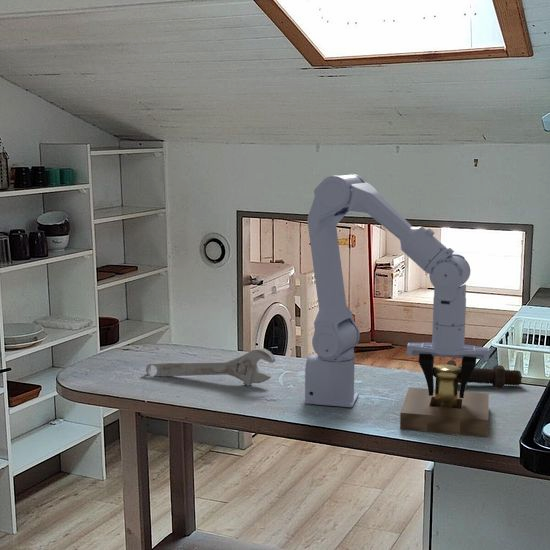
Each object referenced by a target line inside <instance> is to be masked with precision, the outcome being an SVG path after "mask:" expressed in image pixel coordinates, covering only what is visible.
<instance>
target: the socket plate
mask: <svg viewBox="0 0 550 550" xmlns="http://www.w3.org/2000/svg"><path fill="white" fill-rule="evenodd" d="M459 397H460V390H458V394H457V409H456V408H444V407H435V388H434V392H433V396H429V391H428V388H423V387H422V388H421V387H411V386H410V387H408V389H407V392H406V395H405V398H404V401H403V405H402V408H401V411H400V414H399V424H400V425H399V429H400V430H408V431H409V430H410V431H421V432H429V433H431V432H432V433H444V434H451V435H453V434H454V435H464V436H465V435H467V436H477V437H488V436H489V435H488V434H489V432H488V431H489V399H490V398H489V397H490V396H489V393H488V392H487V393H486V392H475V391H473V392H472V391H464V398H459Z"/></svg>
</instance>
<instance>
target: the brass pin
mask: <svg viewBox="0 0 550 550" xmlns="http://www.w3.org/2000/svg"><path fill="white" fill-rule="evenodd" d="M457 366H458V365H456V366H454V365H447V363H446V364H443V363H442V364H437V365H435V366H433V378H435V384H434V385H435V386H434V387H435V388H434V389H435V407H444V408H456V409H457V394H458V391H459V390H458V387H459V386H458V385H459V383H458V379H459V378H461V368H459V367H457Z"/></svg>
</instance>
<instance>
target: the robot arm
mask: <svg viewBox="0 0 550 550" xmlns="http://www.w3.org/2000/svg"><path fill="white" fill-rule="evenodd" d="M313 192H314V193H313V194H314V198H313V200H312V203H311V206H310V210H309V212H308V216H307V228H308V235H309V236H308V237H309V243H310V251H311V252H310V253H311V259H312V265H313V274H314V282H315V290H316V296H317V302H318V303H317V304H318V312H317V314H316V317H315V320H314V322H313V325H314V327H313V328H314V331H313V332H314V333H313V335H312V339H311V344H312V345H311V346H312V348H313V351H314V352H315V354H309V355H308V356H307V357H306V362H305V367H304V369H305V370H304V379H305V380H304V401H303V402H304V404H308V405H319V406H332V407H343V408H353V406H354V405H355V403H356V401H357V399H358V398H359V392H355V355H356V354H355V352H354V351H355V350H354V349H355V347H356V346H357V345H358V343H359V341H360V337H361V336H360V334H361V333H360V330H359V327H358V326H357V324H356V322H355V319H354V316H353V315H354V314H353V312H352V311H351V309H350V308H349V307H348V305H347V301H346V300H347V299H346V292H345V283H344V276H343V270H342V269H343V268H342V259H341V252H340V246H339V245H340V243H339V238H338V231H337V225H338V224H339V223H340V222H341V221H342V219H343V218H344V217H345V216H346V215H347V213H349V212H355V213H363V214H368V215H369V217H371V218H373V220H375V221H376V222H377V223H378V224H380V226H382V227H384V228H385V229H386V230H387V231H388V232H390V234H392V235H393V236H394V237H395V238H396V239H398V240H399V242H400V249H401V251H402V253H404V254H405V255H406V256H407V257H408V258H409V259H410V260H412V261H413V262H414V263H415V264H416V265H417V266H418V267H419V268H420V269H421V270H423V272H425V273H426V274H429V281H430V283H431V285H432V286H433V288H434V289H433V298H432V299H433V301H432V302H433V305H432V306H433V307H432V308H433V309H432V311H433V312H432V314H433V315H432V333H431V338H432V339H431V342H408V343H407V345H406V356H408V357H410V356H411V357H412V356H418V363H419V365H420V368H421V370H422V373H423V374H424V378H425V380H426V385H427V389H428V391H429V396H433V392H434V389H435V388H434V387H435V386H434V385H435V384H434V376H433V368H434V367H435V366H434V363H435V357H440V358H441V357H442V358H452V359H453V358H455V359H462V360H461V367H462V369H461V383H460V387H459V388H460V389H459V391H460V397H459V398H464V392H466V391H465V390H466V387H467V384H468V383H467V382H468V379H469V377H470V375H471V373H472V371H473V370H474V368H476V365H477V360H482V361H486V362H489V361H490V347H484V346H475V345H470V344H465V337H466V332H465V331H466V314H467V313H466V311H467V310H466V309H467V307H466V306H467V297H466V295H467V284H466V283H467V282H468V280H469V278H470V276H471V267H470V264H469V262H468V261H467V259H466V258H465V256H463V255H461V254H457V253H454V252H455V250H454V249H452V248H451V247H449V248H448V247H446V246H445V245H444V244H442V242H441V241H440V240H438V239H437V238H436V237H435V236H434V234H435V232H434V230H432V229H431V228H427V229H426V228H425V227H424V226H412V224H411V223H410V222H409V221H408V220H406V218H404V216H403V215H401V214H400V213H399V212H398V211H397V210H396V209H395V207H393V205H391V204H390V203H389V202H388V201H387V200H386V199H385V198H384V197H383V196H382V195H381V194H380V193H379V192H378V191H377V190H376V188H375V187H374V186H373V185H371V184H370V183H369V182H366V181H365V180H364V179H363V177H362V176H360V175H358V174H354V173H349V174H344V175H329V176H327V177H325V178H324V179H323V180H321V182H320V183H319V184H318V185H317V186H316V187H315V188H314V190H313Z"/></svg>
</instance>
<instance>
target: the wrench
mask: <svg viewBox="0 0 550 550" xmlns="http://www.w3.org/2000/svg"><path fill="white" fill-rule="evenodd" d="M260 360H263V361H266V362H268V363H270V364H273V363H274V362H276V357H275V356H274V354H273V353H272V352H271V351H270V350H268V349H266V348H263V347H256V348H253V349H252V350H250V351H248V352H246V353H244V354H242V355H240V356H238V357H235V358H233V359H230V360H191V361H190V360H188V361H186V360H185V361H153V362H151V363H149V364H147V365H146V367H145V373H146V374H147V376H149V375H153V374H154V373H155V372H153V371H152V369H151V366H153V367H155V369H156V373H155V375H154V376H153V377H157V376H162V377H182V376H184V377H185V376H186V377H189V376H217V375H218V376H220V375H221V376H222V375H223V376H224V375H225V376H226V375H227V376H231V377H234V378H235V379H238V380H240V381H241V382H243V383H242V384H246V385H247V387H248V386H249V385H251V384H252V385H253V384H261V383H264V382H266V381H268V380H270V379H271V377H272V375H271V374H269V373H267V372H265V371H261V370H260V371H259V368H258V365H257V364H258V362H259V361H260ZM252 385H251V386H252ZM249 387H250V386H249Z"/></svg>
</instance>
